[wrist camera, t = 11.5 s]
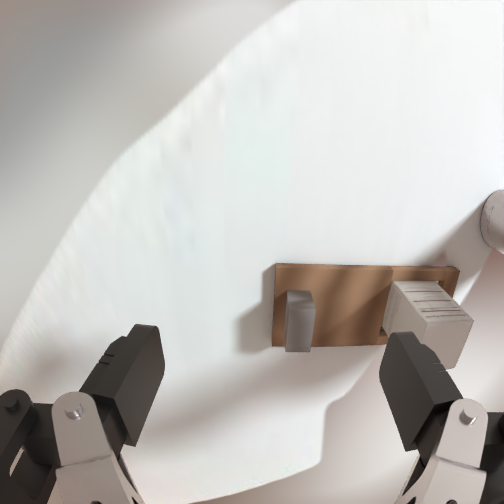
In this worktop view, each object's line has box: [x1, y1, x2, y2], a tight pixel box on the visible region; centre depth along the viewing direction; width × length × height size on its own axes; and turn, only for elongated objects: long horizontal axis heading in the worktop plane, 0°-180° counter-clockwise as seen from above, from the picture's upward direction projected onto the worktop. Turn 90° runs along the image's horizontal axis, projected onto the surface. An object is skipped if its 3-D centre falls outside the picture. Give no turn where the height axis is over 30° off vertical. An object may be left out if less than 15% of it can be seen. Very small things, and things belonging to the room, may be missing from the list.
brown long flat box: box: [272, 263, 460, 352], centre depth 37 cm, size 27×12×6 cm, turn 89°
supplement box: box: [382, 281, 474, 369], centre depth 34 cm, size 7×7×13 cm
